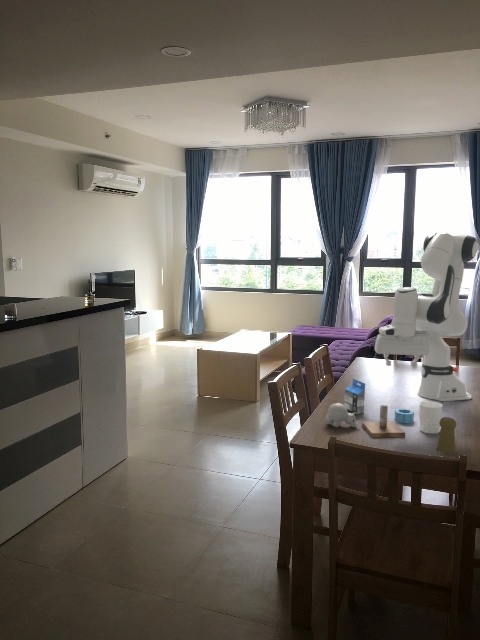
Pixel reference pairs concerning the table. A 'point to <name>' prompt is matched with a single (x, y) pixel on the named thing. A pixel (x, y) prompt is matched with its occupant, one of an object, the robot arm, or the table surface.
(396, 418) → the ring
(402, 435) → the post block
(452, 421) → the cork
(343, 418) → the round bodied animal figurine
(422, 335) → the robot arm
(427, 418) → the white cup
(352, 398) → the blue printed box
